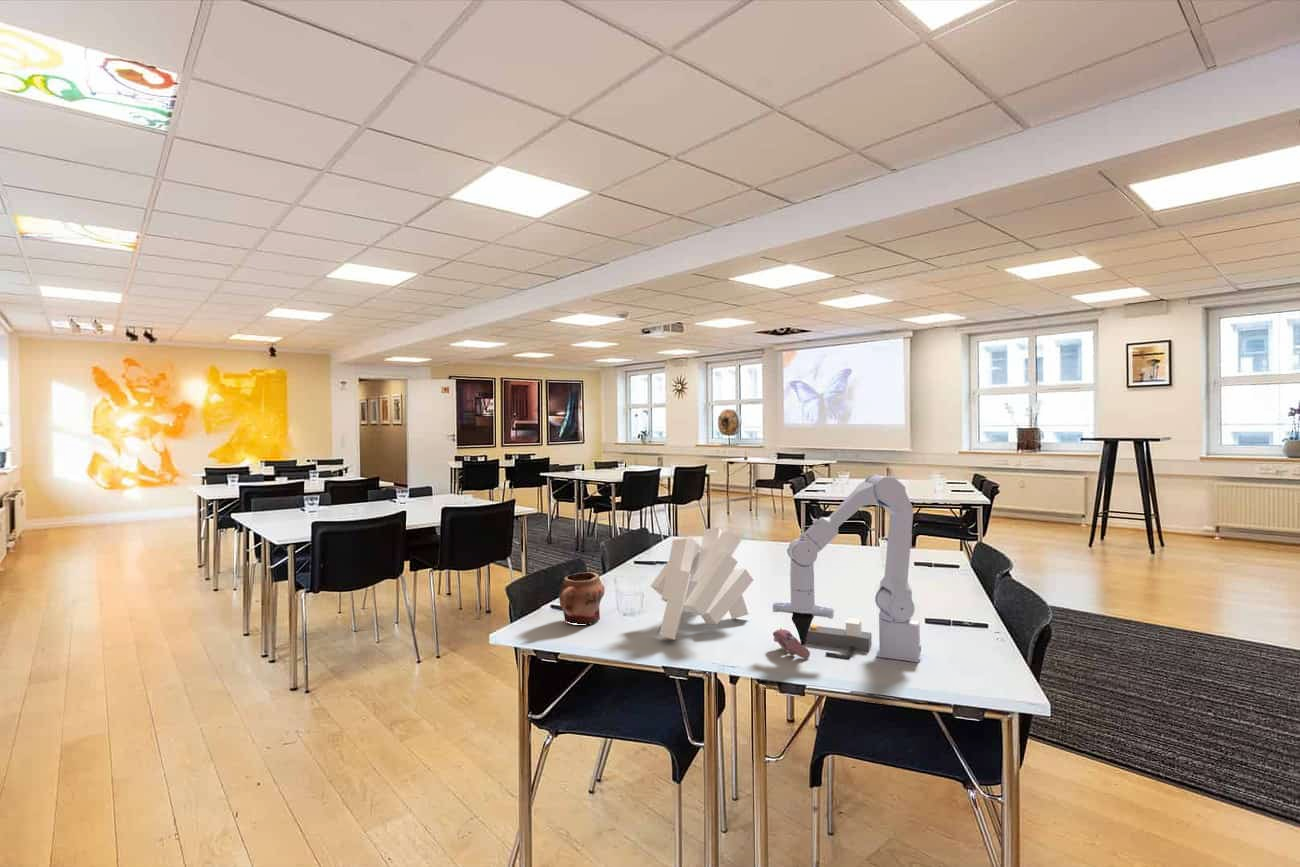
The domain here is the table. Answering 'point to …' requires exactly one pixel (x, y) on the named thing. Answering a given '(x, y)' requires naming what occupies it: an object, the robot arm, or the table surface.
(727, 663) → the table surface
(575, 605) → the decorative planter
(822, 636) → the power strip
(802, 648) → the video game controller
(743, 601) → the pile of blocks
